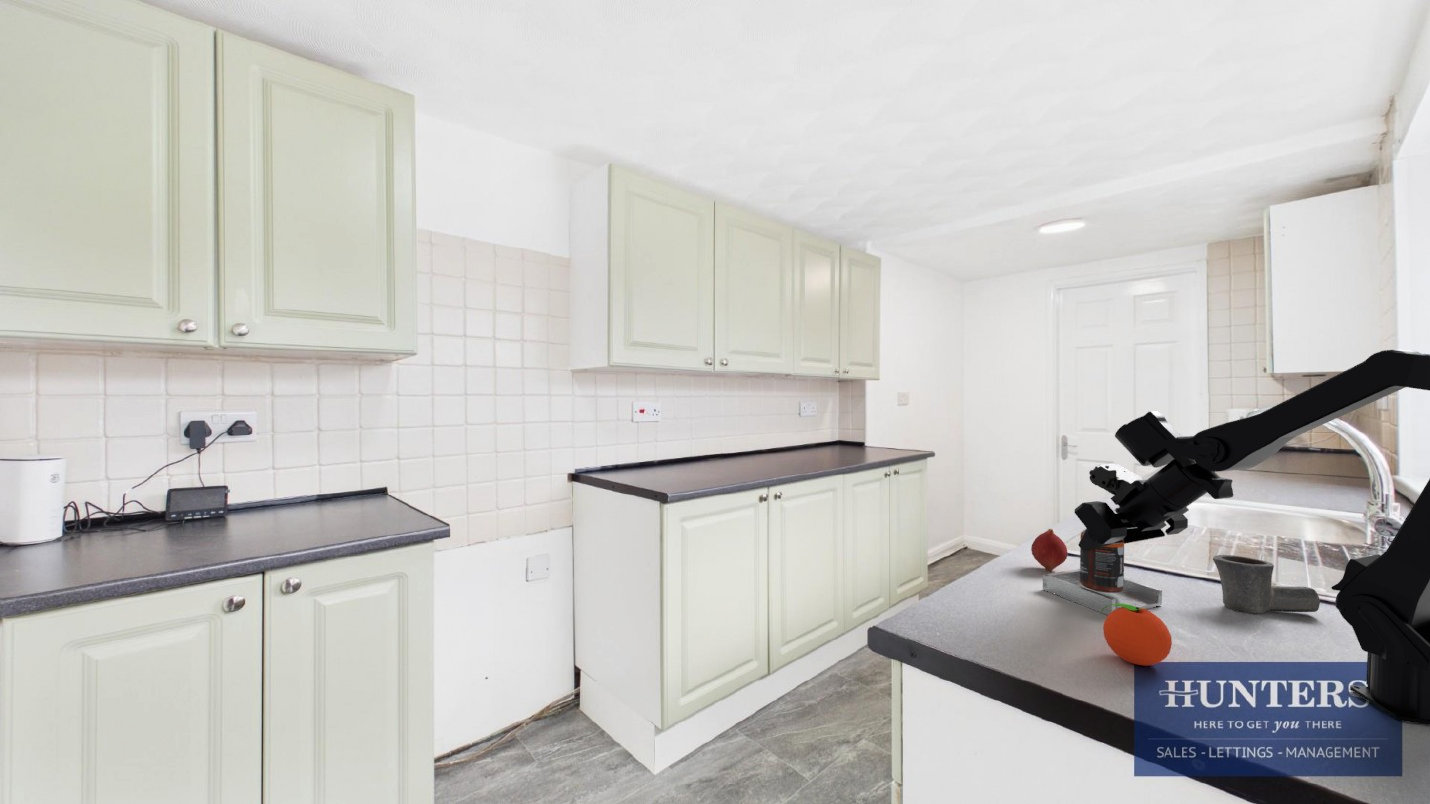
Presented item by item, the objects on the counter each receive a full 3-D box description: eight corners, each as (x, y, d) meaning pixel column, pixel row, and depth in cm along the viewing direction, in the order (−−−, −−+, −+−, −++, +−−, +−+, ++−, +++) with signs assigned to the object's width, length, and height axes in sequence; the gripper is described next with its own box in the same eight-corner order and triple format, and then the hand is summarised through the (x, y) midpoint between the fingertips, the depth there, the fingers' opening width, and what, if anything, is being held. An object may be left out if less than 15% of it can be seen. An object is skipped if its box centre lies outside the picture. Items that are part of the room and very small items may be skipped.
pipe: (1327, 623, 82) (1330, 570, 82) (1226, 615, 85) (1228, 563, 85) (1295, 607, 88) (1296, 557, 88) (1201, 600, 91) (1202, 551, 90)
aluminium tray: (1161, 606, 88) (1162, 590, 88) (1111, 616, 84) (1112, 599, 84) (1089, 581, 99) (1090, 567, 99) (1042, 589, 95) (1042, 574, 95)
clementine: (1081, 651, 73) (1083, 598, 73) (1114, 642, 76) (1116, 590, 75) (1150, 681, 66) (1151, 622, 65) (1183, 669, 68) (1185, 612, 68)
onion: (1024, 567, 106) (1025, 526, 106) (1043, 563, 109) (1044, 523, 109) (1053, 577, 101) (1054, 533, 101) (1073, 572, 104) (1074, 530, 103)
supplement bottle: (1133, 594, 88) (1134, 524, 88) (1095, 594, 88) (1097, 524, 88) (1106, 581, 94) (1107, 515, 94) (1071, 581, 94) (1072, 515, 94)
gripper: (1167, 446, 90) (1098, 501, 101) (1087, 451, 84) (1023, 509, 94) (1225, 504, 83) (1144, 556, 93) (1142, 513, 76) (1066, 569, 87)
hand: (1093, 545), depth 92 cm, fingers closed on supplement bottle, 6 cm apart
